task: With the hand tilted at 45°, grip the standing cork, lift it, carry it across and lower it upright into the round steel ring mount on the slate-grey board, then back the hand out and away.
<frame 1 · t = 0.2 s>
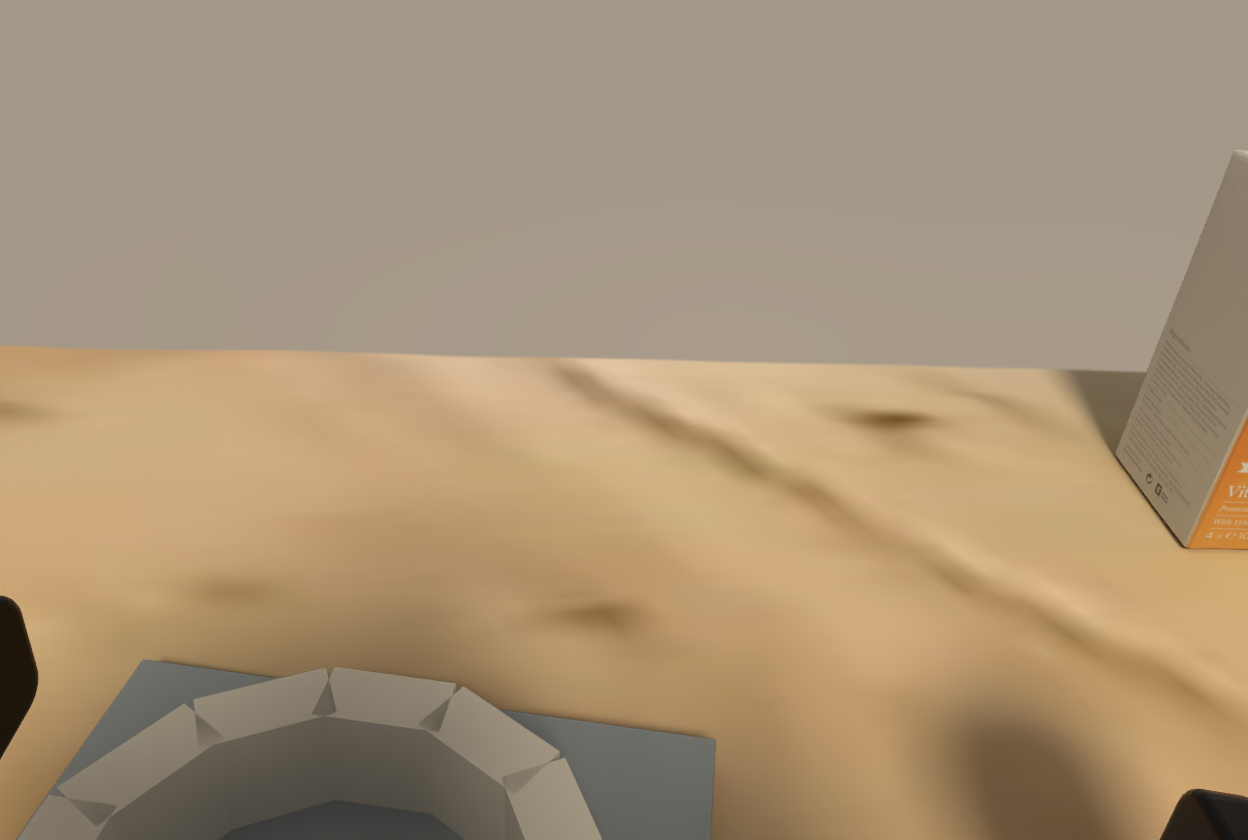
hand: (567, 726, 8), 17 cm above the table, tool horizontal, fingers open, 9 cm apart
small box: (1243, 509, 40), on the table
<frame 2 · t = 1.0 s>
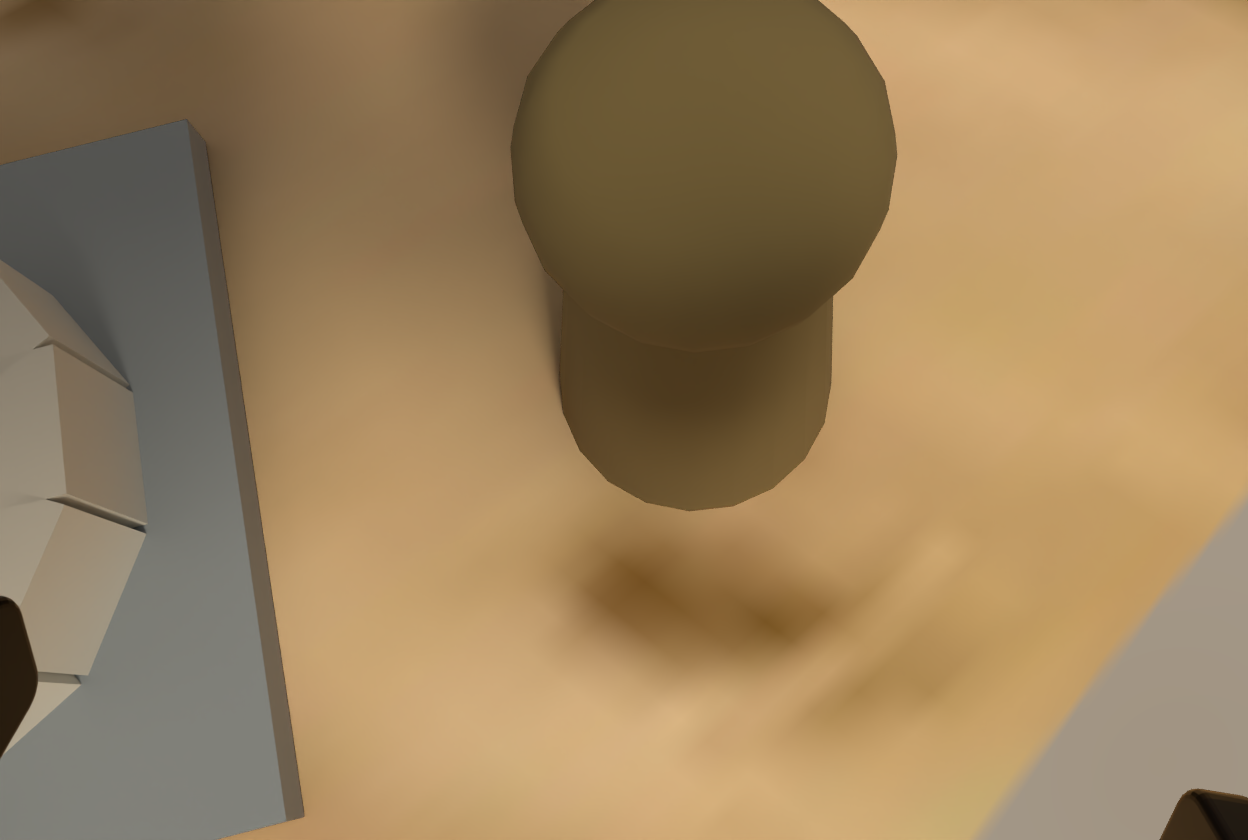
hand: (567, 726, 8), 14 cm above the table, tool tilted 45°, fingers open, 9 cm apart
cork: (694, 380, 23), on the table
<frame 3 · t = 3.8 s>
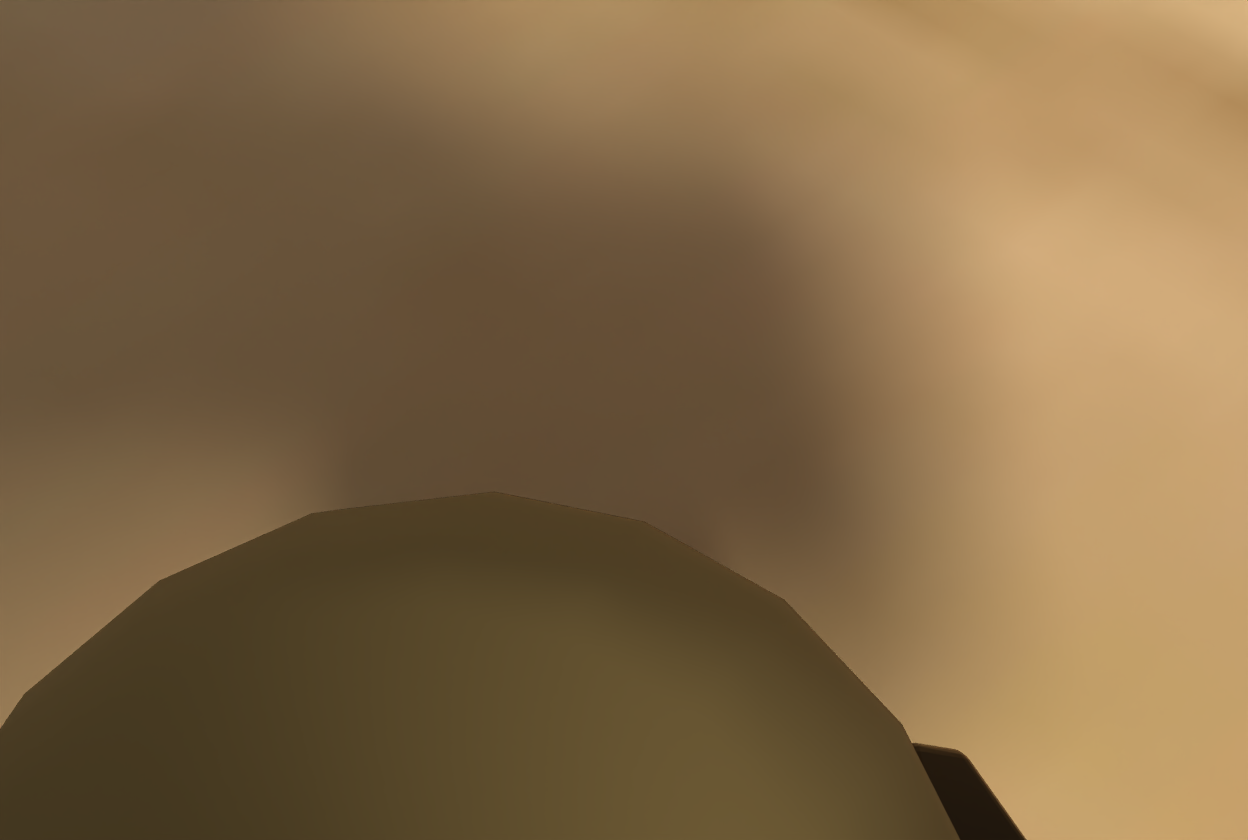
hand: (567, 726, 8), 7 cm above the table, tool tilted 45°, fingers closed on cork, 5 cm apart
cork: (603, 826, 14), on the table, touching gripper
when the fingers open (9 cm above the table, at t = 8.2 s): cork drops 1 cm, resting on mount.
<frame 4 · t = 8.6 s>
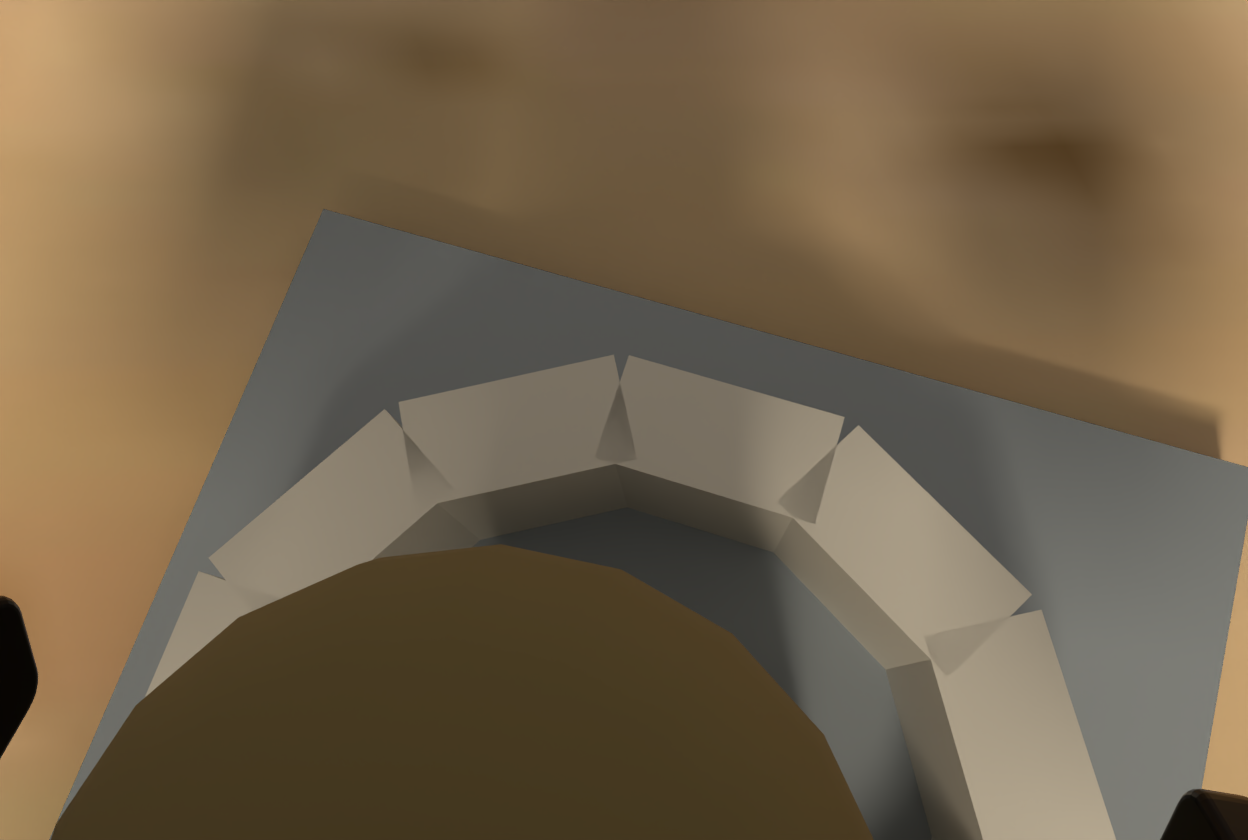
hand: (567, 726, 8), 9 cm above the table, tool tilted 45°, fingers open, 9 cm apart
cork: (611, 824, 15), point 1 cm above the table, touching mount
mount: (615, 811, 16), on the table
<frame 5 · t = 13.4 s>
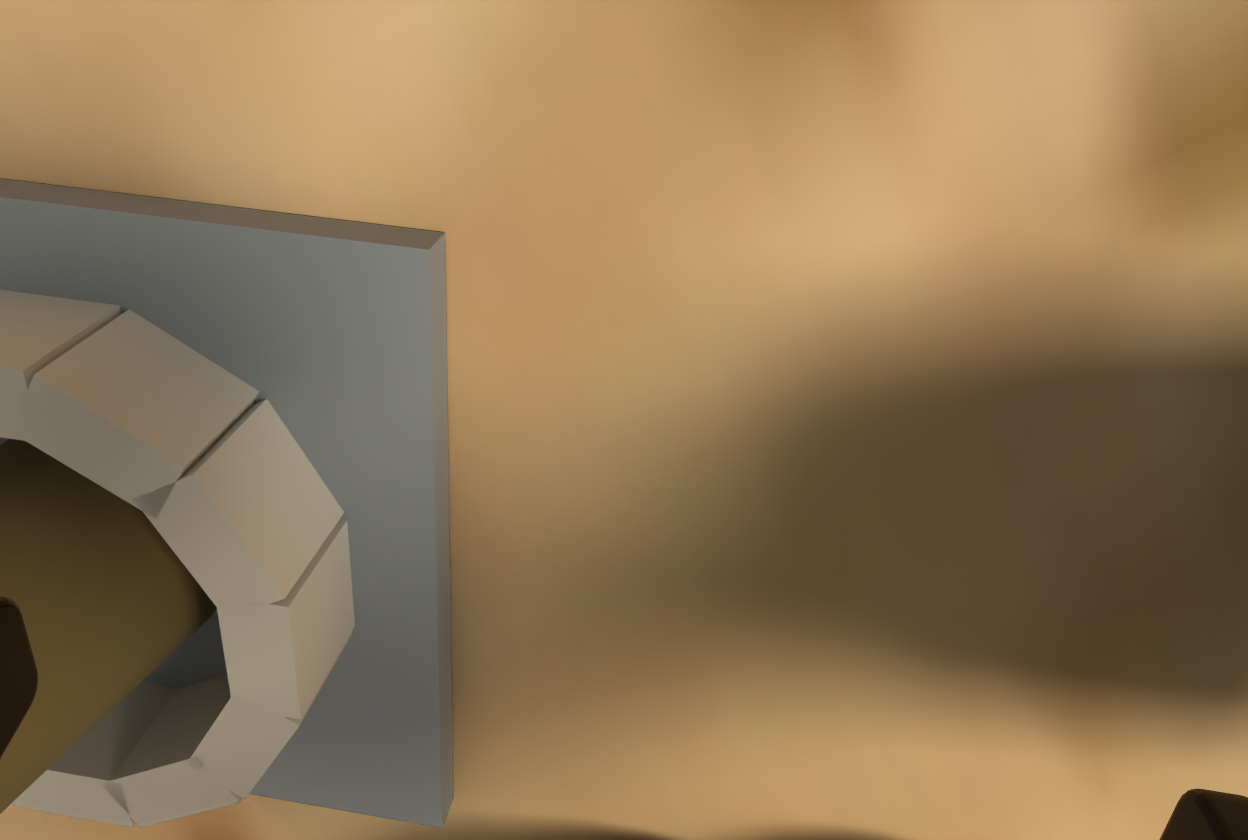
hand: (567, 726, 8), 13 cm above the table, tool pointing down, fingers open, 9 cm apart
cork: (111, 531, 24), point 1 cm above the table, touching mount
mount: (126, 512, 25), on the table
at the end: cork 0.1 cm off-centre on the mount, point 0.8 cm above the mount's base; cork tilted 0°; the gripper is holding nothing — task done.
